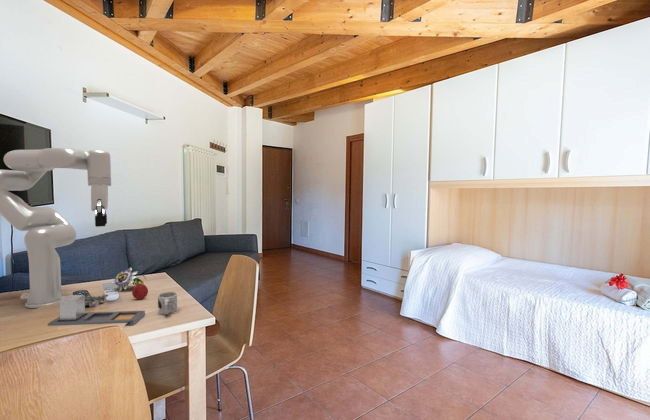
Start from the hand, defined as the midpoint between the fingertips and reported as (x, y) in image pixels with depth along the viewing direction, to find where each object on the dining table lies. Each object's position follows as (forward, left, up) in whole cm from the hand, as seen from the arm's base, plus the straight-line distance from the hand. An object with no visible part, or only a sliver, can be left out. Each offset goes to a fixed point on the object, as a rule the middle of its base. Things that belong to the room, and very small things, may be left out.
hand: (101, 225), depth 124 cm
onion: (+12, +5, -33) cm, 35 cm away
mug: (+28, -10, -33) cm, 45 cm away
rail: (+7, -16, -33) cm, 37 cm away
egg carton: (-5, +1, -33) cm, 34 cm away
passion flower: (0, +22, -33) cm, 40 cm away
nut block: (-2, -16, -32) cm, 36 cm away
